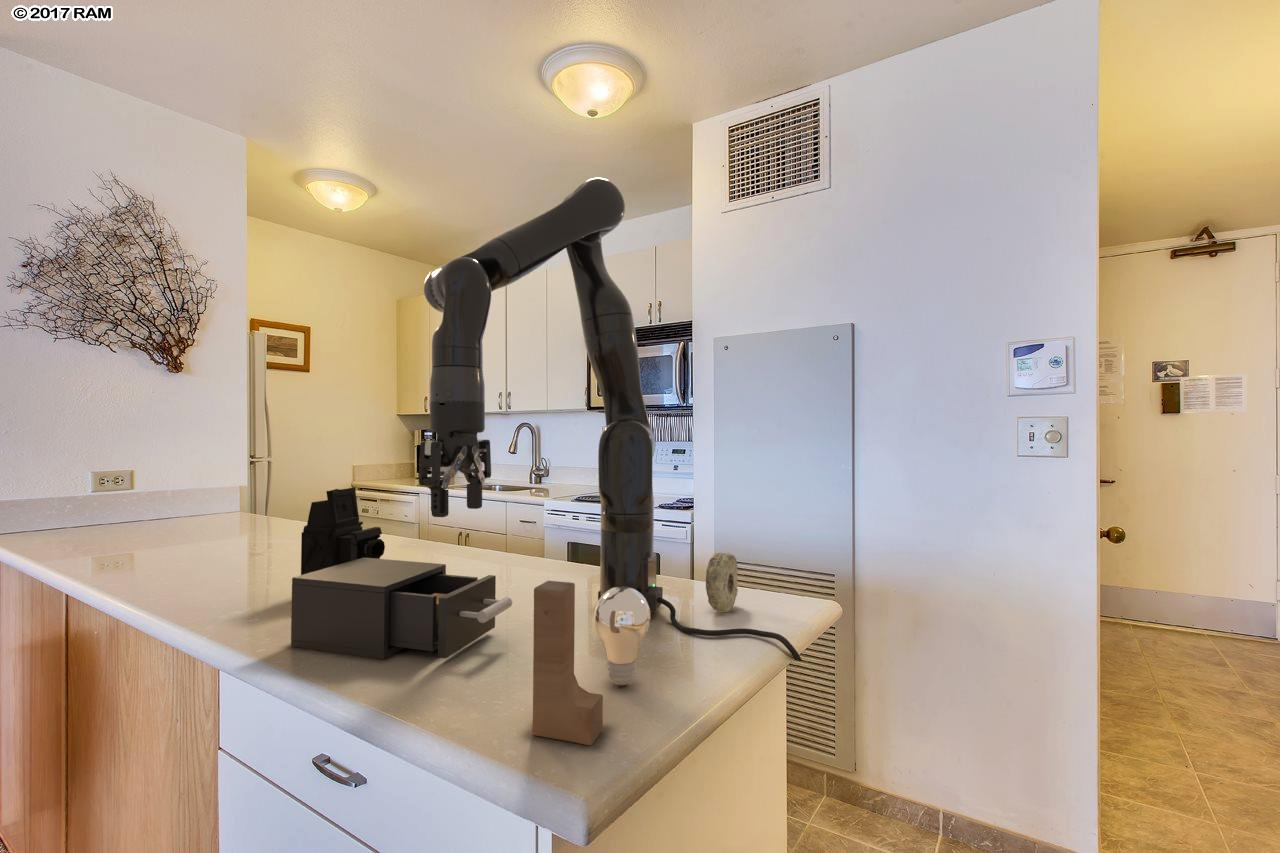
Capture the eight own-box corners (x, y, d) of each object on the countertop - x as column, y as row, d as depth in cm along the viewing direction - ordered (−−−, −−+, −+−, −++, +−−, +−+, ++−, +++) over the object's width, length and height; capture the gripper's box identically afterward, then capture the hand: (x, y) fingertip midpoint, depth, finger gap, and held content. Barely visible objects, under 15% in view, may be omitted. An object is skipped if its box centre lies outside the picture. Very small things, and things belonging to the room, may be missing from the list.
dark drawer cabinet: (445, 626, 89) (446, 564, 89) (383, 659, 76) (384, 586, 76) (362, 616, 94) (363, 557, 94) (290, 646, 80) (291, 577, 80)
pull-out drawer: (521, 630, 85) (521, 577, 85) (475, 662, 73) (475, 601, 73) (413, 617, 90) (414, 568, 90) (354, 646, 78) (354, 589, 78)
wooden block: (531, 735, 57) (533, 587, 57) (546, 719, 60) (547, 579, 61) (591, 746, 55) (592, 593, 56) (603, 730, 58) (604, 585, 59)
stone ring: (721, 620, 93) (721, 559, 93) (701, 616, 95) (701, 557, 95) (742, 604, 102) (742, 549, 102) (723, 601, 104) (723, 547, 104)
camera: (359, 607, 98) (361, 492, 98) (292, 602, 101) (294, 489, 101) (395, 592, 108) (396, 487, 108) (333, 587, 111) (335, 485, 111)
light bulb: (596, 672, 72) (597, 579, 73) (650, 673, 72) (651, 580, 72) (589, 698, 66) (590, 594, 66) (649, 699, 65) (650, 595, 65)
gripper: (463, 403, 89) (463, 505, 89) (402, 397, 76) (402, 519, 75) (505, 402, 87) (506, 507, 87) (451, 396, 74) (451, 520, 73)
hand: (458, 512), depth 81 cm, fingers open, 8 cm apart
